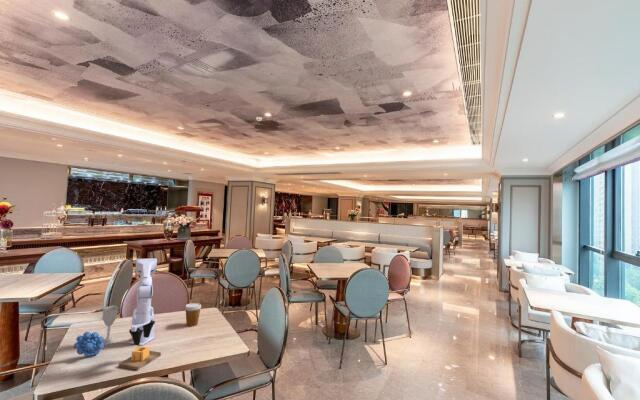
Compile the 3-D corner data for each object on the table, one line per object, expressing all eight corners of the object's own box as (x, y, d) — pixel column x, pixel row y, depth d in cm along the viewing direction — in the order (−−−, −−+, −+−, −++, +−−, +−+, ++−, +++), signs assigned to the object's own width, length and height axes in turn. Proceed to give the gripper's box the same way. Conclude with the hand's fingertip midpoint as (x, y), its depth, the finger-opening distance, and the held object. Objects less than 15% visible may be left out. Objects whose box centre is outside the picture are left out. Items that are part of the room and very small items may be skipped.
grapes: (71, 364, 134) (73, 337, 135) (73, 357, 140) (75, 331, 140) (103, 357, 141) (105, 332, 141) (103, 351, 147) (105, 327, 147)
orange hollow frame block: (138, 354, 142) (138, 346, 142) (149, 355, 142) (149, 346, 142) (131, 360, 137) (131, 351, 137) (142, 360, 137) (143, 352, 137)
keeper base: (143, 352, 147) (143, 341, 147) (160, 355, 145) (161, 344, 145) (118, 367, 134) (119, 354, 134) (137, 370, 132) (138, 358, 132)
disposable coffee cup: (184, 322, 187) (185, 303, 188) (201, 321, 190) (202, 302, 191) (182, 328, 178) (183, 308, 179) (199, 327, 181) (200, 307, 182)
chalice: (107, 346, 152) (109, 311, 152) (96, 344, 153) (98, 309, 154) (119, 340, 159) (121, 306, 160) (108, 338, 160) (111, 305, 161)
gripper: (144, 306, 147) (142, 333, 147) (125, 316, 133) (123, 347, 133) (158, 306, 147) (156, 334, 147) (140, 317, 133) (138, 348, 133)
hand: (141, 340), depth 140 cm, fingers open, 7 cm apart
